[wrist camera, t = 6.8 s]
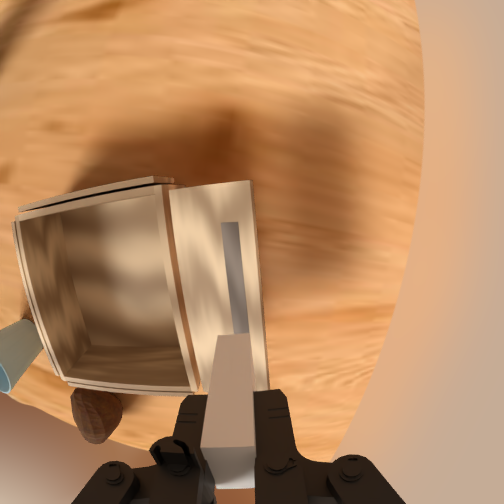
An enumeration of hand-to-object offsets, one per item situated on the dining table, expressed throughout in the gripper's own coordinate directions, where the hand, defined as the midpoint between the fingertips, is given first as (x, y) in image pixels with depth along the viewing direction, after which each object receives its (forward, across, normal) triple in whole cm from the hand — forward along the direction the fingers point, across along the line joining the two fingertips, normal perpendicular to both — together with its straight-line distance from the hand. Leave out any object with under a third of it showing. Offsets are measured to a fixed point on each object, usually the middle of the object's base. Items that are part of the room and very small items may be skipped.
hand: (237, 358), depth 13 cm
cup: (+17, -33, -9) cm, 38 cm away
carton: (+17, -13, -1) cm, 21 cm away
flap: (+8, -4, 0) cm, 9 cm away
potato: (+17, -22, -19) cm, 33 cm away
